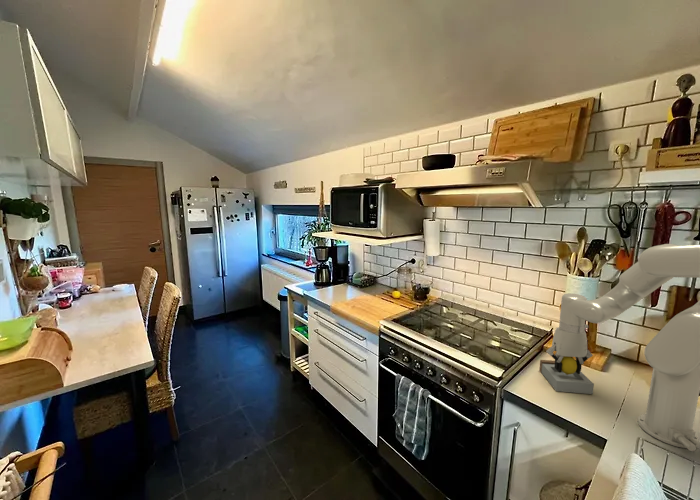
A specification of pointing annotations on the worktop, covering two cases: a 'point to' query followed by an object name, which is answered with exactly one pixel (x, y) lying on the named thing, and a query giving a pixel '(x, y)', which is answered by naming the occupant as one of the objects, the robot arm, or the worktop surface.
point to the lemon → (568, 365)
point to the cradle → (567, 380)
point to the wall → (545, 363)
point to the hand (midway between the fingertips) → (567, 370)
